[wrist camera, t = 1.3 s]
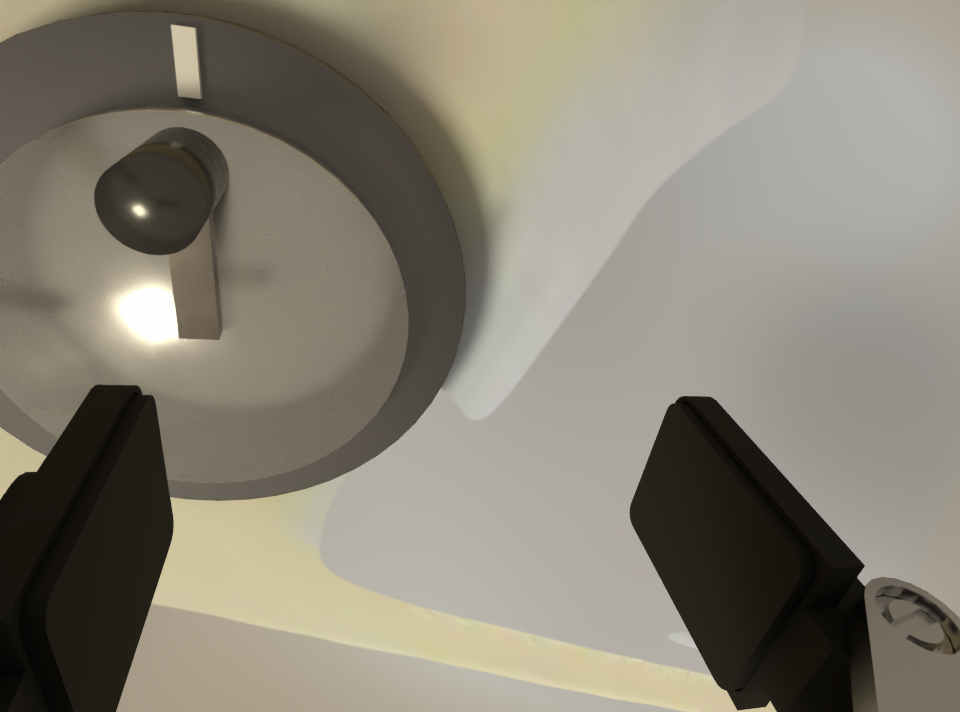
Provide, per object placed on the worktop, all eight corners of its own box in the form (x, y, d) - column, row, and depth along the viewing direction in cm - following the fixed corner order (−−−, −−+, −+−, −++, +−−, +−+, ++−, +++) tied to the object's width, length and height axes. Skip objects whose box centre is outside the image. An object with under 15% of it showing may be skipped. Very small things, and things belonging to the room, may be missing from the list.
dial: (392, 461, 34) (400, 551, 28) (30, 466, 29) (-42, 573, 24) (423, 133, 25) (444, 173, 19) (-92, 72, 20) (-251, 101, 15)
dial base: (-124, -99, 20) (-176, -109, 18) (523, 119, 27) (537, 129, 25) (-55, 448, 30) (-82, 479, 29) (396, 495, 38) (398, 522, 36)
